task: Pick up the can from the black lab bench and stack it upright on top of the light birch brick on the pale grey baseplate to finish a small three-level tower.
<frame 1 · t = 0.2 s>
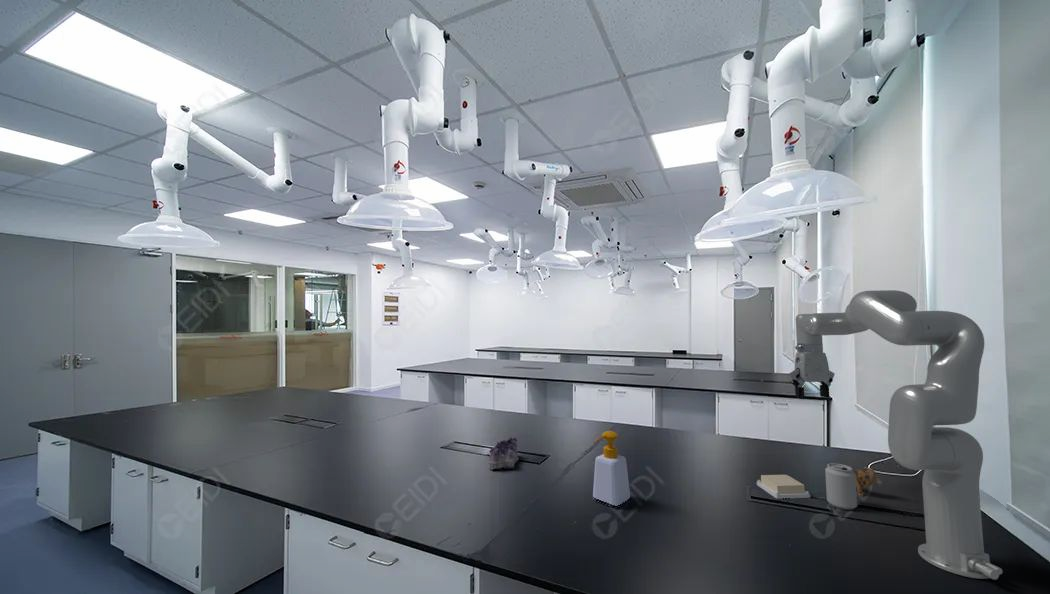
hand: (812, 397, 142), 30 cm above the table, fingers open, 9 cm apart
lion figurine: (853, 491, 136), on the table
soap bottle: (608, 502, 131), on the table
can: (842, 506, 126), on the table
geode: (505, 464, 168), on the table
tower base: (782, 491, 137), on the table
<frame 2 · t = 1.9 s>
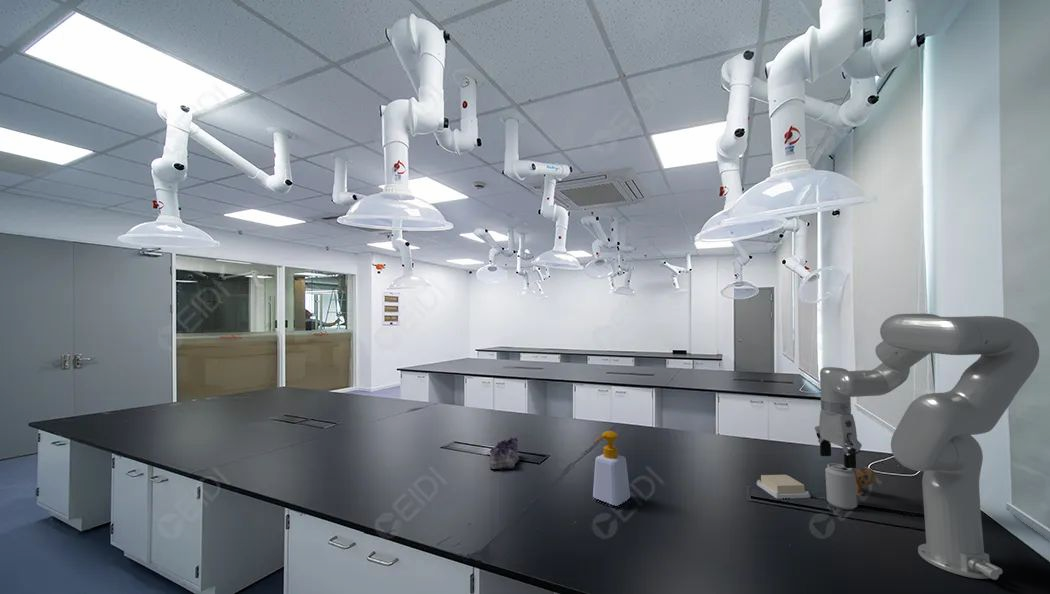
hand: (837, 461, 127), 13 cm above the table, fingers open, 9 cm apart
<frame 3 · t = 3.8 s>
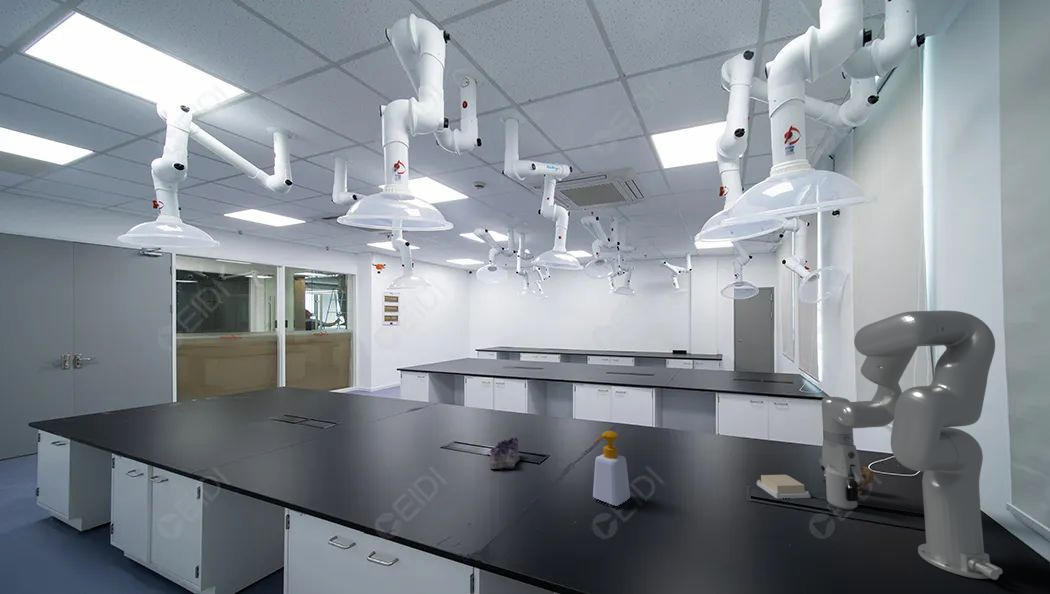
hand: (841, 494, 126), 3 cm above the table, fingers closed on can, 7 cm apart
can: (842, 506, 126), on the table, touching gripper
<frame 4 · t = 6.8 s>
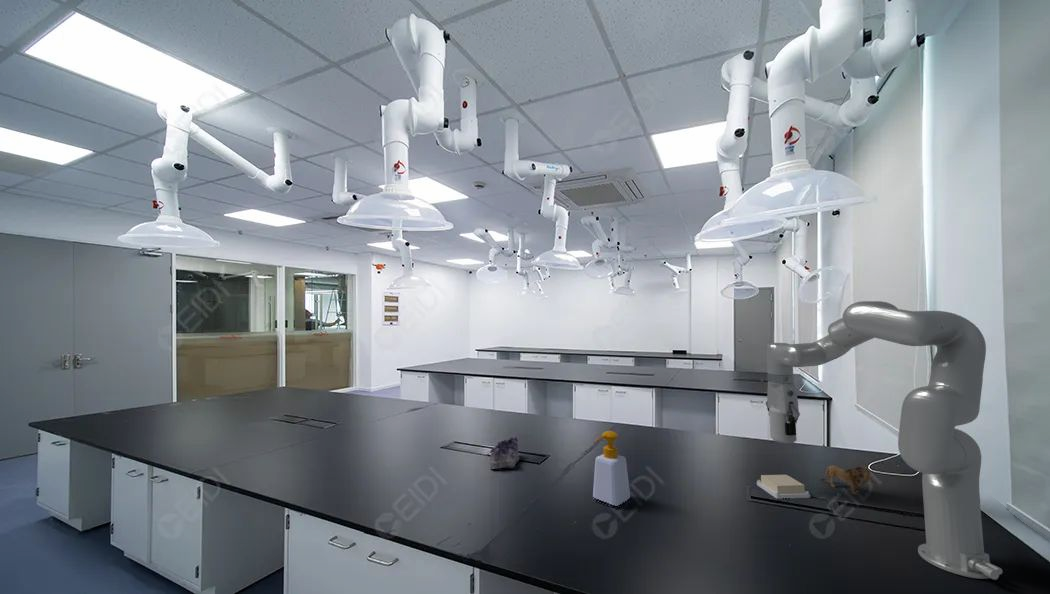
hand: (782, 431, 137), 20 cm above the table, fingers closed on can, 7 cm apart
can: (783, 441, 137), point 17 cm above the table, touching gripper
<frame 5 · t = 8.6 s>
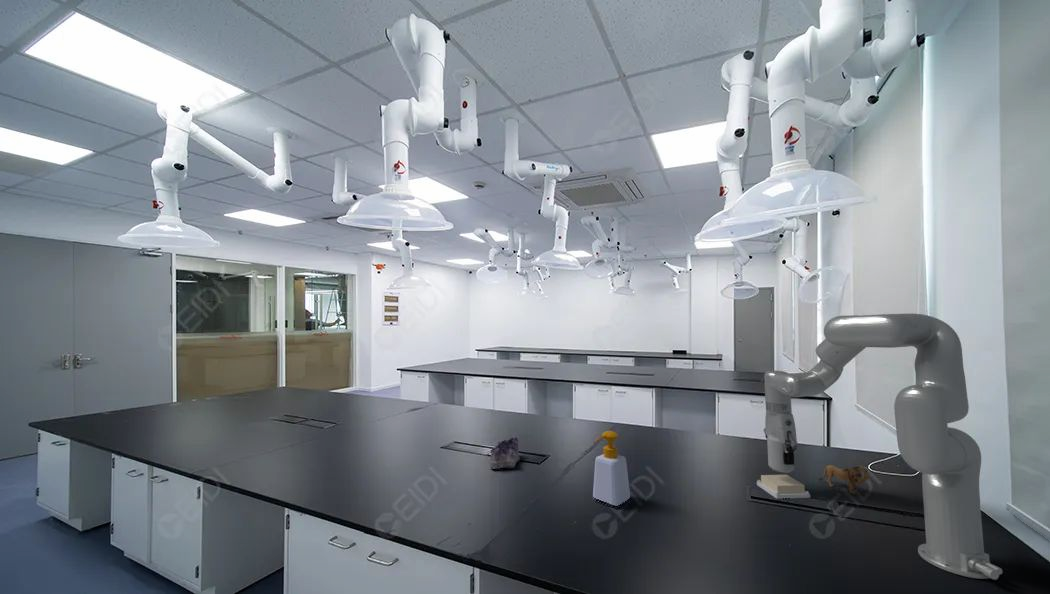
hand: (780, 459, 137), 10 cm above the table, fingers closed on can, 7 cm apart
can: (781, 470, 137), point 7 cm above the table, touching gripper
when the fingers open (9 cm above the table, at t = 10.0 s): can drops 2 cm, resting on tower base.
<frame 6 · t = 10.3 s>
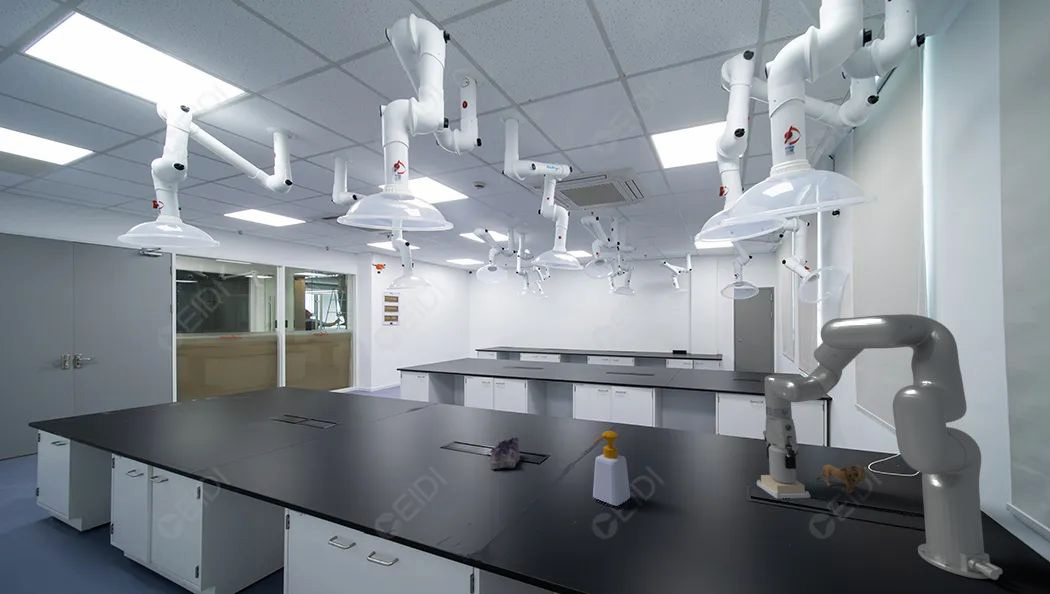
hand: (781, 463, 137), 9 cm above the table, fingers open, 9 cm apart
can: (783, 481, 137), point 4 cm above the table, touching tower base
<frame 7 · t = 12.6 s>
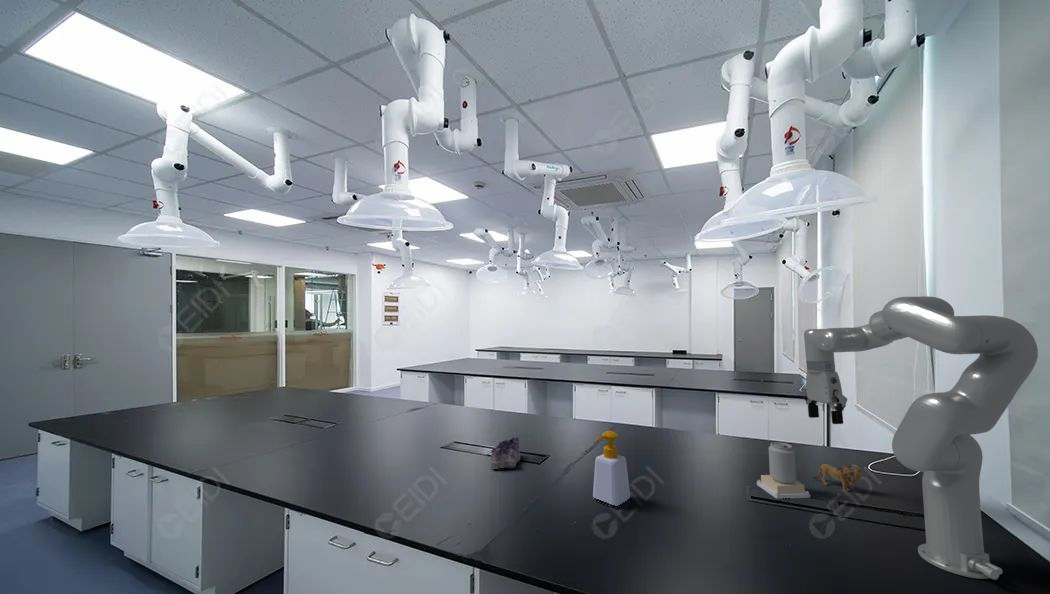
hand: (825, 420, 130), 25 cm above the table, fingers open, 9 cm apart
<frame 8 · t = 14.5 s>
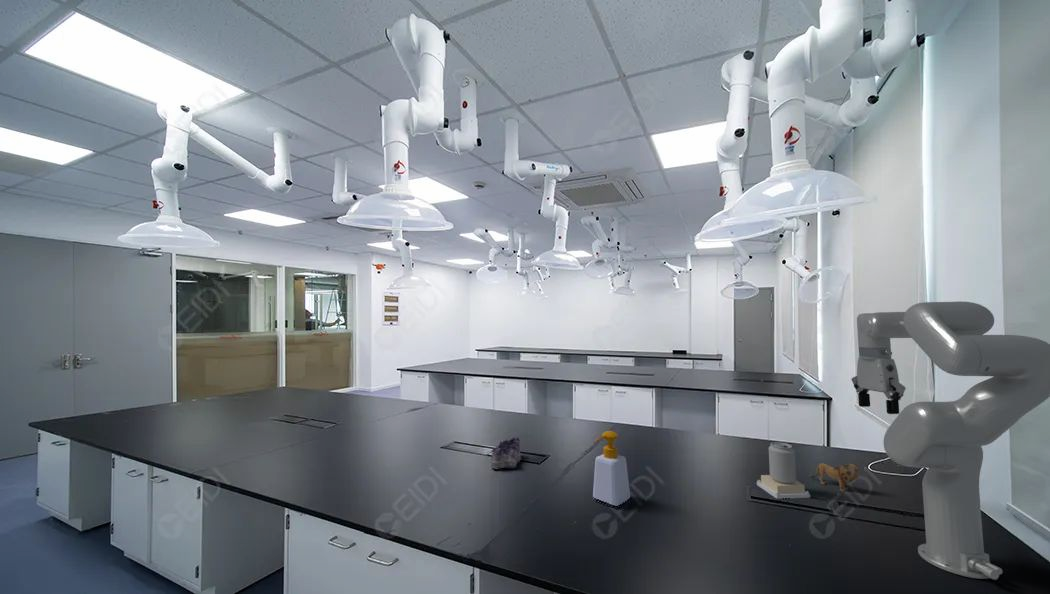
hand: (878, 409, 123), 30 cm above the table, fingers open, 9 cm apart
at the end: can 0.4 cm off-centre on the tower base, point 3.5 cm above the tower base's base; can tilted 0°; the gripper is holding nothing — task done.
